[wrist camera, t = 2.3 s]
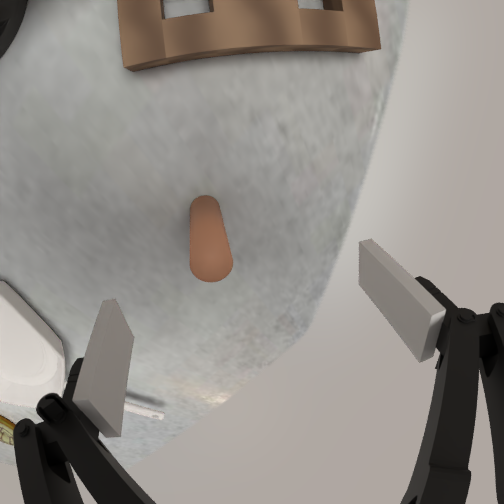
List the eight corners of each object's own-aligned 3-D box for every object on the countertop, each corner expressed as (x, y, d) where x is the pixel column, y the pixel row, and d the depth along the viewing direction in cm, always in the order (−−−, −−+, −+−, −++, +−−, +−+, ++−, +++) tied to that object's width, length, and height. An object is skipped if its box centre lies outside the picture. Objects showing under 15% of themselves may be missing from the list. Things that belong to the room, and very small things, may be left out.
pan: (-55, 234, 28) (-72, 248, 24) (195, 347, 43) (197, 370, 39) (-45, 355, 37) (-54, 371, 33) (141, 434, 51) (140, 453, 48)
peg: (193, 225, 35) (194, 285, 24) (187, 198, 33) (185, 248, 22) (221, 220, 35) (235, 278, 24) (217, 193, 33) (229, 240, 23)
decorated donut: (22, 441, 50) (19, 453, 47) (-15, 421, 46) (-19, 432, 43) (26, 426, 47) (22, 440, 44) (-15, 404, 43) (-19, 416, 40)
